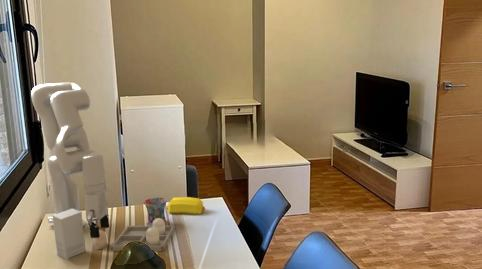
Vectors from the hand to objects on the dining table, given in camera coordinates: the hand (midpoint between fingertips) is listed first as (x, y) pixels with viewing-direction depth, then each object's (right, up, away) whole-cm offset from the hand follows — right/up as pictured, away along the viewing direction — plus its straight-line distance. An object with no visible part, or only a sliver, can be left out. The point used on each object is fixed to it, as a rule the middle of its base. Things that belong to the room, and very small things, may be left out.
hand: (100, 232), depth 171 cm
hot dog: (+27, +1, +36) cm, 45 cm away
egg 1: (0, -6, +2) cm, 6 cm away
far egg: (+19, -5, +2) cm, 20 cm away
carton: (+15, -5, +7) cm, 17 cm away
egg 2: (+20, -3, +11) cm, 23 cm away
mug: (+17, -2, +23) cm, 29 cm away
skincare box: (-10, -7, -2) cm, 12 cm away
